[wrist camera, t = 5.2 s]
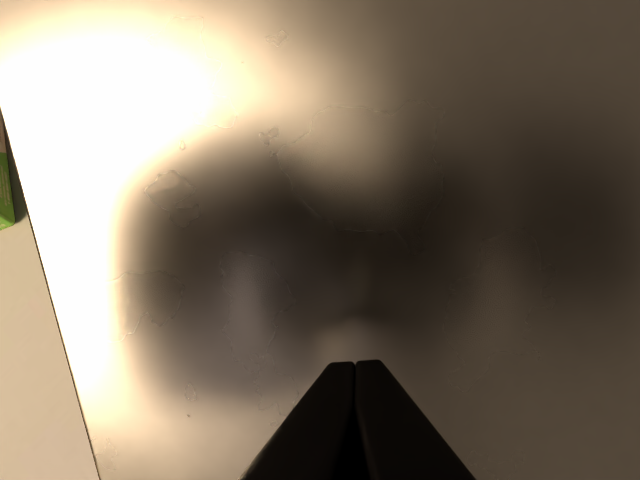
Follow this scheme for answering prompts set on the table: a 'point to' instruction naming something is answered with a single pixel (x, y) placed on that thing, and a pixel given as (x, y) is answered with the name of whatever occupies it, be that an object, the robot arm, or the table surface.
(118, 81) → the box lid
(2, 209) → the ink box
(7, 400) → the table surface
